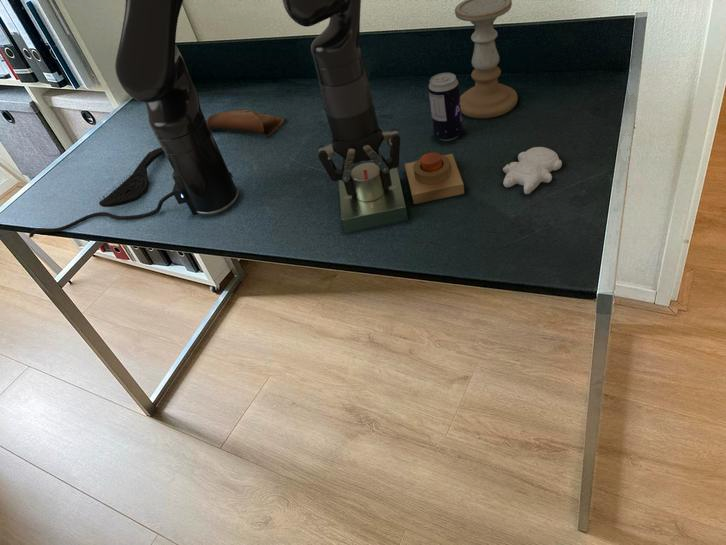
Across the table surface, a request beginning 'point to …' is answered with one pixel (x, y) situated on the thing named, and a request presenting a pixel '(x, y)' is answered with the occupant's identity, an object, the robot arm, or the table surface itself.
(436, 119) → the beverage can
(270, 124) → the sunglasses case
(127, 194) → the hairbrush
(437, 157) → the button
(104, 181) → the table surface
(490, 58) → the candle holder
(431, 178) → the button block
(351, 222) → the control knob panel
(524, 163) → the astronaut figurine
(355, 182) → the rotary dial knob
